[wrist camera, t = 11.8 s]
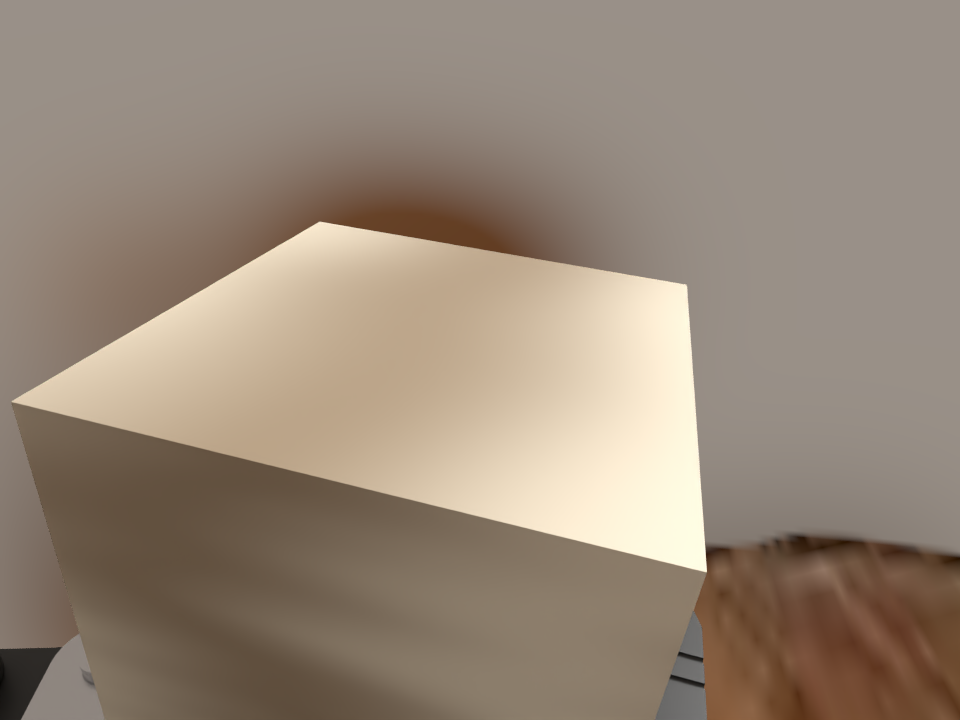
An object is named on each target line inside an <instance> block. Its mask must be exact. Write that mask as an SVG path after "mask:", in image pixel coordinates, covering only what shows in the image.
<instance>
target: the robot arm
mask: <svg viewBox="0 0 960 720" xmlns="http://www.w3.org/2000/svg"><path fill="white" fill-rule="evenodd" d="M704 685H705V677H704V664H703V640H702V627H701V625H700V623H699V621H698V619H697V617H696V615H695V613H694V611H693V613H692V616H691V618H690V621H689V624H688V627H687V630H686V632H685V635H684V638H683V641H682V644H681V647H680V649H679V652H678V655H677V658H676V661H675V664H674V666H673V669H672V672H671V675H670V678H669V681H668V683H667V686H666V689H665V692H664V695H663V697H662V700H661V703H660V706H659V709H658V712H657V714H656V717H655V720H707V715H706V696H705V690H704ZM0 720H105V718H104V715H103V711H102V708H101V705H100V701H99V698H98V694H97V691H96V688H95V684H94V681H93V677H92V674H91V671H90V667H89V664H88V661H87V657H86V654H85V650H84V647H83V644H82V640H81V637H80V634H78V635H77V636H75V637H74V638H73V639H71V640H70V641H69V642H68V643H67V644H65V645H64V646H63V647H58V648H30V649H29V648H28V649H27V648H26V649H0Z"/></svg>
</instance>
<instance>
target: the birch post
mask: <svg viewBox="0 0 960 720" xmlns="http://www.w3.org/2000/svg"><path fill="white" fill-rule="evenodd" d="M688 311H689V310H688V296H687V285H684V284H678V283H672V282H666V281H661V280H655V279H649V278H643V277H637V276H632V275H625V274H620V273H614V272H609V271H602V270H597V269H591V268H585V267H579V266H574V265H568V264H562V263H556V262H550V261H544V260H539V259H533V258H527V257H521V256H515V255H510V254H503V253H498V252H492V251H486V250H480V249H475V248H469V247H463V246H457V245H451V244H445V243H440V242H434V241H428V240H422V239H417V238H410V237H405V236H399V235H393V234H387V233H382V232H376V231H370V230H364V229H358V228H353V227H347V226H341V225H335V224H330V223H324V222H319V223H317V224H315V225H313V226H312V227H310V228H308V229H307V230H305V231H303V232H301V233H300V234H298V235H296V236H295V237H293V238H291V239H289V240H288V241H286V242H284V243H282V244H281V245H280V246H277V247H276V248H274V249H272V250H271V251H269V252H267V253H265V254H264V255H262V256H260V257H259V258H257V259H255V260H253V261H252V262H250V263H248V264H246V265H245V266H243V267H241V268H240V269H238V270H236V271H235V272H233V273H231V274H230V275H228V276H226V277H224V278H222V279H221V280H219V281H217V282H216V283H214V284H212V285H211V286H209V287H207V288H205V289H204V290H202V291H200V292H198V293H197V294H195V295H193V296H192V297H190V298H188V299H186V300H185V301H183V302H181V303H180V304H178V305H176V306H175V307H173V308H171V309H169V310H168V311H166V312H164V313H162V314H161V315H159V316H158V317H156V318H154V319H152V320H151V321H149V322H147V323H145V324H144V325H142V326H140V327H138V328H137V329H135V330H133V331H132V332H130V333H128V334H126V335H125V336H123V337H121V338H120V339H118V340H116V341H114V342H113V343H111V344H109V345H107V346H106V347H104V348H102V349H101V350H99V351H97V352H96V353H94V354H92V355H90V356H89V357H87V358H85V359H83V360H82V361H80V362H78V363H77V364H75V365H73V366H71V367H70V368H68V369H67V370H65V371H63V372H61V373H60V374H58V375H56V376H54V377H53V378H51V379H49V380H47V381H46V382H44V383H42V384H41V385H39V386H37V387H35V388H34V389H32V390H30V391H29V392H27V393H25V394H24V395H22V396H20V397H18V398H17V399H15V400H13V401H11V403H12V406H13V410H14V413H15V417H16V420H17V424H18V427H19V430H20V434H21V437H22V440H23V444H24V447H25V451H26V454H27V457H28V461H29V464H30V468H31V470H32V474H33V478H34V481H35V485H36V488H37V491H38V494H39V498H40V501H41V505H42V508H43V512H44V515H45V518H46V522H47V525H48V529H49V532H50V535H51V539H52V542H53V545H54V549H55V552H56V556H57V559H58V562H59V566H60V569H61V573H62V576H63V579H64V583H65V586H66V589H67V593H68V596H69V600H70V603H71V606H72V610H73V613H74V617H75V620H76V623H77V627H78V630H79V633H80V637H81V640H82V644H83V647H84V650H85V654H86V657H87V661H88V664H89V667H90V671H91V674H92V677H93V681H94V684H95V688H96V691H97V694H98V698H99V701H100V705H101V708H102V711H103V715H104V718H105V720H655V717H656V714H657V712H658V709H659V706H660V703H661V700H662V697H663V695H664V692H665V689H666V686H667V683H668V681H669V678H670V675H671V672H672V669H673V666H674V664H675V661H676V658H677V655H678V652H679V649H680V647H681V644H682V641H683V638H684V635H685V632H686V630H687V627H688V624H689V621H690V618H691V616H692V613H693V610H694V607H695V604H696V601H697V599H698V596H699V593H700V590H701V587H702V584H703V582H704V579H705V576H706V573H707V568H706V554H705V540H704V525H703V511H702V498H701V482H700V468H699V454H698V440H697V426H696V411H695V397H694V383H693V367H692V353H691V339H690V324H689V312H688Z"/></svg>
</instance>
